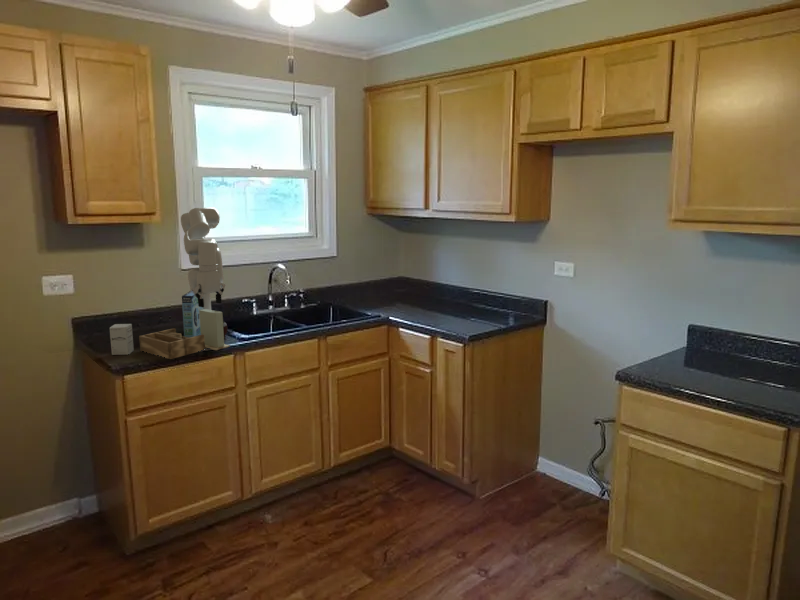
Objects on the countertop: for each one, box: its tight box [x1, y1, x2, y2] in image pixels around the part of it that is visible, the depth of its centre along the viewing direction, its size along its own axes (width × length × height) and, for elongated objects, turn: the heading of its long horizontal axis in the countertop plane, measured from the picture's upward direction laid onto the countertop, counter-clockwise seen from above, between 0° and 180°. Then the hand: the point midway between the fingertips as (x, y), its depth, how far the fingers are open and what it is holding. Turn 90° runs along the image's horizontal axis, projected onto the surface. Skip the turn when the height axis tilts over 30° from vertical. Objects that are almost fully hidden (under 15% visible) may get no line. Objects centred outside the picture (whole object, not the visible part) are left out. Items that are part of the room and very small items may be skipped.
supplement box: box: [109, 323, 134, 356], centre depth 263 cm, size 7×7×13 cm
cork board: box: [205, 343, 231, 351], centre depth 274 cm, size 8×14×1 cm, turn 55°
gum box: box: [181, 289, 204, 338], centre depth 288 cm, size 20×5×23 cm, turn 3°
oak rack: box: [138, 327, 206, 360], centre depth 267 cm, size 18×22×7 cm
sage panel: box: [199, 309, 225, 348], centre depth 273 cm, size 4×12×16 cm, turn 55°
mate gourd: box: [223, 321, 229, 340], centre depth 286 cm, size 8×8×15 cm
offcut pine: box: [165, 332, 183, 338], centre depth 272 cm, size 4×6×3 cm
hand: (210, 304), depth 271 cm, fingers open, 9 cm apart
